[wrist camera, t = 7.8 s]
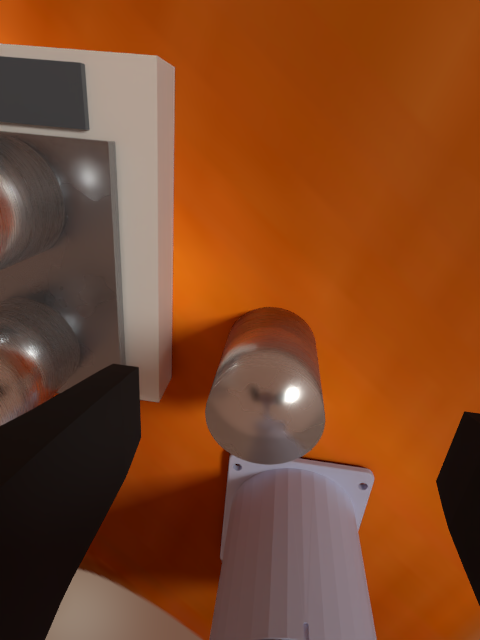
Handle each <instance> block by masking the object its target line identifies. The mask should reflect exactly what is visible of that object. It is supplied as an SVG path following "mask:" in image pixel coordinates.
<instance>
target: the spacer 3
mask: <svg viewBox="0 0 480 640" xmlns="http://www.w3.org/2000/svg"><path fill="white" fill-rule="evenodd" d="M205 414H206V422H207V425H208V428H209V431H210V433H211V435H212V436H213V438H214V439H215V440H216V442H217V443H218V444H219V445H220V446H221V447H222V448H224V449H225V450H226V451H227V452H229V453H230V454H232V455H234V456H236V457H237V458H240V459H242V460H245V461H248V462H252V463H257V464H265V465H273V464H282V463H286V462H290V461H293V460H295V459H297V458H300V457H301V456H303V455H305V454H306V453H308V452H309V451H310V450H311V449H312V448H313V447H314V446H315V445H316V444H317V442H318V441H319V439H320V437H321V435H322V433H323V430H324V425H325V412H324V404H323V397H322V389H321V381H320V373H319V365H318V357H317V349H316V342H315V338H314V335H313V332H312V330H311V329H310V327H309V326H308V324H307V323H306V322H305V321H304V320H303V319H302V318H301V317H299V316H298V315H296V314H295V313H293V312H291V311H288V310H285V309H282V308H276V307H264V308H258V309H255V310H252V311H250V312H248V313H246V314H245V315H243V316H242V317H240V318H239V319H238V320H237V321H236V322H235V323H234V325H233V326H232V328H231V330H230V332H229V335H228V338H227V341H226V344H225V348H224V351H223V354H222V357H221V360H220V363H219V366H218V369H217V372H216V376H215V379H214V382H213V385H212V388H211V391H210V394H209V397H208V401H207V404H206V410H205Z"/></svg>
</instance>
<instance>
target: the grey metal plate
mask: <svg viewBox="0 0 480 640" xmlns="http://www.w3.org/2000/svg"><path fill="white" fill-rule="evenodd" d="M0 134H3V135H7V136H11V137H13V138H16V139H18V140H20V141H22V142H24V143H26V144H27V145H28V146H30V147H31V148H33V149H34V150H35V151H36V152H37V153H38V154H39V155H40V156H41V157H42V158H43V159H44V160H45V161H46V162H47V164H48V165H49V166H50V168H51V169H52V171H53V173H54V174H55V176H56V178H57V180H58V182H59V185H60V188H61V190H62V194H63V198H64V204H65V219H64V225H63V228H62V231H61V234H60V236H59V238H58V239H57V241H56V242H55V243H54V244H53V245H52V246H51V247H50V248H49V249H47V250H46V251H44V252H42V253H40V254H38V255H35V256H33V257H31V258H28V259H26V260H24V261H21V262H19V263H17V264H14V265H12V266H10V267H7V268H5V269H3V270H0V302H1V301H3V300H5V299H9V298H16V297H21V298H29V299H33V300H36V301H39V302H41V303H44V304H46V305H47V306H49V307H51V308H52V309H54V310H55V311H57V312H58V313H59V314H60V315H61V316H62V317H63V318H64V319H65V320H66V321H67V322H68V323H69V325H70V326H71V328H72V329H73V331H74V333H75V335H76V337H77V339H78V343H79V347H80V362H79V365H78V368H77V370H76V371H75V373H74V374H73V375H72V376H71V378H70V379H69V380H68V381H67V382H66V383H65V384H64V385H63V386H62V387H61V388H60V389H59V390H58V391H57V392H56V393H62V392H63V391H65V390H67V389H69V388H70V387H72V386H74V385H76V384H77V383H79V382H81V381H82V380H84V379H86V378H88V377H89V376H91V375H93V374H94V373H96V372H98V371H100V370H102V369H103V368H105V367H107V366H109V365H111V364H120V365H126V357H125V336H124V315H123V294H122V273H121V252H120V231H119V210H118V189H117V168H116V147H115V142H114V141H103V140H93V139H82V138H72V137H61V136H50V135H40V134H29V133H19V132H8V131H0Z"/></svg>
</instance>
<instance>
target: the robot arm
mask: <svg viewBox="0 0 480 640" xmlns="http://www.w3.org/2000/svg"><path fill="white" fill-rule="evenodd" d="M140 438H141V421H140V389H139V367H135V366H127V365H120V364H111V365H109V366H107V367H105V368H103V369H102V370H100V371H98V372H96V373H94V374H93V375H91V376H89V377H88V378H86V379H84V380H82V381H81V382H79V383H77V384H76V385H74V386H72V387H70V388H69V389H67V390H65V391H63V392H62V393H60V394H58V395H56V396H55V397H53V398H51V399H49V400H48V401H46V402H44V403H42V404H41V405H39V406H37V407H35V408H34V409H32V410H30V411H28V412H26V413H24V414H22V415H20V416H18V417H17V418H15V419H13V420H11V421H9V422H7V423H5V424H3V425H1V426H0V640H45V638H46V636H47V634H48V631H49V629H50V627H51V624H52V622H53V620H54V617H55V615H56V613H57V610H58V608H59V605H60V603H61V601H62V599H63V597H64V595H65V593H66V591H67V588H68V586H69V585H70V582H71V580H72V578H73V576H74V574H75V573H76V570H77V569H78V567H79V565H80V563H81V561H82V559H83V557H84V556H85V554H86V552H87V550H88V548H89V546H90V544H91V542H92V541H93V539H94V537H95V535H96V533H97V531H98V529H99V527H100V525H101V524H102V522H103V520H104V518H105V516H106V514H107V512H108V510H109V509H110V507H111V505H112V503H113V501H114V499H115V497H116V495H117V493H118V491H119V489H120V487H121V486H122V484H123V482H124V480H125V478H126V475H127V473H128V470H129V468H130V465H131V463H132V460H133V457H134V455H135V452H136V449H137V447H138V444H139V441H140ZM235 464H240V466H237V465H235ZM373 482H374V476H373V473H372V471H371V470H369V469H366V468H360V467H354V466H347V465H340V464H334V463H327V462H320V461H314V460H307V459H300V458H297V459H295V460H293V461H290V462H286V463H282V464H273V465H265V464H257V463H252V462H248V461H245V460H242V459H240V458H237V457H236V456H234V455H232V454H230V457H229V467H228V477H227V488H226V498H225V509H224V520H223V530H222V541H221V551H220V559H221V560H222V566H221V572H220V578H219V585H218V591H217V597H216V603H215V609H214V615H213V621H212V628H211V634H210V640H377V639H376V633H375V628H374V622H373V616H372V610H371V604H370V599H369V593H368V587H367V581H366V576H365V570H364V564H363V558H362V552H361V547H360V541H359V535H358V530H359V527H360V524H361V521H362V518H363V514H364V511H365V508H366V505H367V502H368V498H369V495H370V492H371V489H372V485H373ZM361 483H365V484H361ZM436 483H437V487H438V491H439V495H440V499H441V503H442V507H443V511H444V514H445V518H446V522H447V525H448V528H449V531H450V534H451V536H452V539H453V541H454V544H455V546H456V549H457V552H458V554H459V557H460V559H461V562H462V564H463V567H464V569H465V571H466V574H467V576H468V579H469V581H470V584H471V586H472V589H473V591H474V593H475V596H476V598H477V601H478V603H479V606H480V414H479V413H471V412H464V414H463V416H462V419H461V421H460V424H459V426H458V428H457V431H456V433H455V436H454V438H453V441H452V443H451V446H450V448H449V451H448V453H447V456H446V458H445V461H444V463H443V466H442V468H441V470H440V473H439V475H438V478H437V480H436Z"/></svg>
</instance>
